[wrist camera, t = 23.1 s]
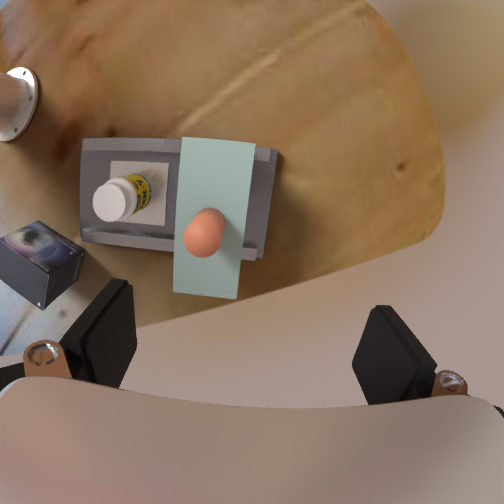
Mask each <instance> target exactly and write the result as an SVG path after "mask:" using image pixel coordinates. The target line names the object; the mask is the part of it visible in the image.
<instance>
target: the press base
mask: <svg viewBox="0 0 504 504" xmlns="http://www.w3.org/2000/svg"><path fill="white" fill-rule="evenodd" d="M181 146H182V140H180V139H158V138H84V139H82V147H81V163H80V233H81V238H82V241H85V242H93V243H102V244H110V245H118V246H127V247H135V248H144V249H153V250H161V251H170V252H174V237H175V218H176V202H177V189H178V177H179V166H180V155H181ZM277 154H278V150H277V149H271V148H264V147H256V146H255V152H254V160H253V168H252V176H251V184H250V191H249V199H248V207H247V215H246V224H245V232H244V240H243V248H242V256H241V259H242V260H251V261H255V260H256V258H263V253H264V246H265V239H266V232H267V225H268V218H269V211H270V204H271V197H272V190H273V183H274V176H275V168H276V161H277ZM129 174H140V175H143V176H144V177H146V178H147V179H148V181H149V182H150V184H151V187H152V198H151V200H150V202H149V204H148V205H147V206H146V207H145V208H144V209H142V210H140V211H138V212H137V213H135V214H133V215H132V216H130V217H129V218H127V219H124V220H116V221H113V222H107V221H104V220H102V219H100V218H99V217H98V216H97V214H96V213H95V211H94V208H93V196H94V194H95V192H96V190H97V189H98V188H99V187H100V186H102V185H104V184H105V183H106V182H107V181H109V180H110V179H113V178H116V177H120V176H125V175H129Z"/></svg>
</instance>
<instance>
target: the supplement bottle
mask: <svg viewBox="0 0 504 504" xmlns="http://www.w3.org/2000/svg"><path fill="white" fill-rule="evenodd" d="M151 198H152V187H151V184H150V182H149V181H148V179H147V178H146V177H144V176H143V175H140V174H129V175H125V176H120V177H116V178H113V179H110V180H109V181H107V182H106V183H105V184H104V185H102V186H100V187H99V188H98V189H97V190H96V192H95V194H94V196H93V208H94V211H95V213H96V214H97V216H98V217H99V218H100V219H102V220H104V221H107V222H113V221H116V220H124V219H127V218H129V217H130V216H132V215H133V214H135V213H137V212H138V211H140V210H142V209H144V208H145V207H146V206H147V205H148V204H149V202H150V200H151Z"/></svg>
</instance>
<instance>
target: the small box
mask: <svg viewBox="0 0 504 504" xmlns="http://www.w3.org/2000/svg"><path fill="white" fill-rule="evenodd" d="M84 252H85V250H84V249H83V248H81V247H80V246H78V245H76V244H75V243H73V242H71V241H70V240H68V239H67V238H65V237H63V236H62V235H60V234H59V233H57V232H55V231H54V230H52V229H51V228H49V227H48V226H46V225H44V224H43V223H41V222H40V221H36V222H34V223H32V224H29V225H27V226H25V227H23V228H21V229H18V230H16V231H14V232H12V233H10V234H8V235H5V236H3V237H1V238H0V279H1V280H2V281H3V282H5V283H6V284H7V285H8V286H10V287H11V288H12V289H13V290H15V291H16V292H17V293H19V294H20V295H21V296H23V297H24V298H25V299H27V300H28V301H30V302H31V303H32V304H34V305H35V306H37V307H38V308H39V309H41V310H42V311H44V310H45V309H46V307H47V306H48V305H49V304H50V303H51V302H53V301H54V300H55V299H56V298H57V297H58V296H59V295H60V294H62V293H63V292H64V291H65V290H66V289H67V288H68V287H70V286H71V285H72V284H73V283H75V282H76V281H77V279H78V274H79V270H80V266H81V263H82V260H83V257H84Z"/></svg>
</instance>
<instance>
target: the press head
mask: <svg viewBox="0 0 504 504" xmlns="http://www.w3.org/2000/svg"><path fill="white" fill-rule="evenodd" d="M255 145H256V144H255V143H247V142H238V141H229V140H218V139H206V138H193V137H182V146H181V155H180V166H179V177H178V189H177V202H176V218H175V237H174V264H173V292H178V293H186V294H194V295H202V296H211V297H220V298H229V299H236V298H237V290H238V281H239V273H240V265H241V256H242V248H243V240H244V232H245V224H246V215H247V207H248V199H249V191H250V184H251V176H252V168H253V160H254V152H255Z"/></svg>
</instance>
